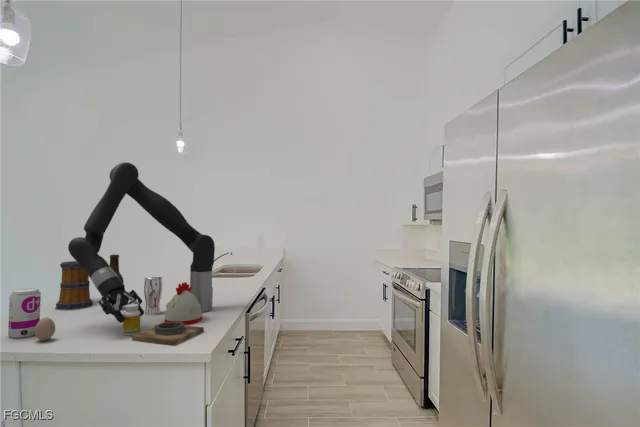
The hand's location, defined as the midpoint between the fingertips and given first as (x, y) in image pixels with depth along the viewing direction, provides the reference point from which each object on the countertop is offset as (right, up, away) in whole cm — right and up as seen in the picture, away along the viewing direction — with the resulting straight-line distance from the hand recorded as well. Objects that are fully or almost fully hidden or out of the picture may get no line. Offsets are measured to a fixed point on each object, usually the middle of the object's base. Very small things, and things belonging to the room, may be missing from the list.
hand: (132, 318), depth 127 cm
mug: (-47, -6, +41) cm, 62 cm away
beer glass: (-6, -6, +28) cm, 29 cm away
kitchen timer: (+11, -6, +17) cm, 21 cm away
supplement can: (-35, -5, -3) cm, 35 cm away
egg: (-24, -5, -9) cm, 26 cm away
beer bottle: (-26, -6, +34) cm, 43 cm away
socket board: (+13, -5, -2) cm, 15 cm away
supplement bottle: (-1, -6, 0) cm, 6 cm away
